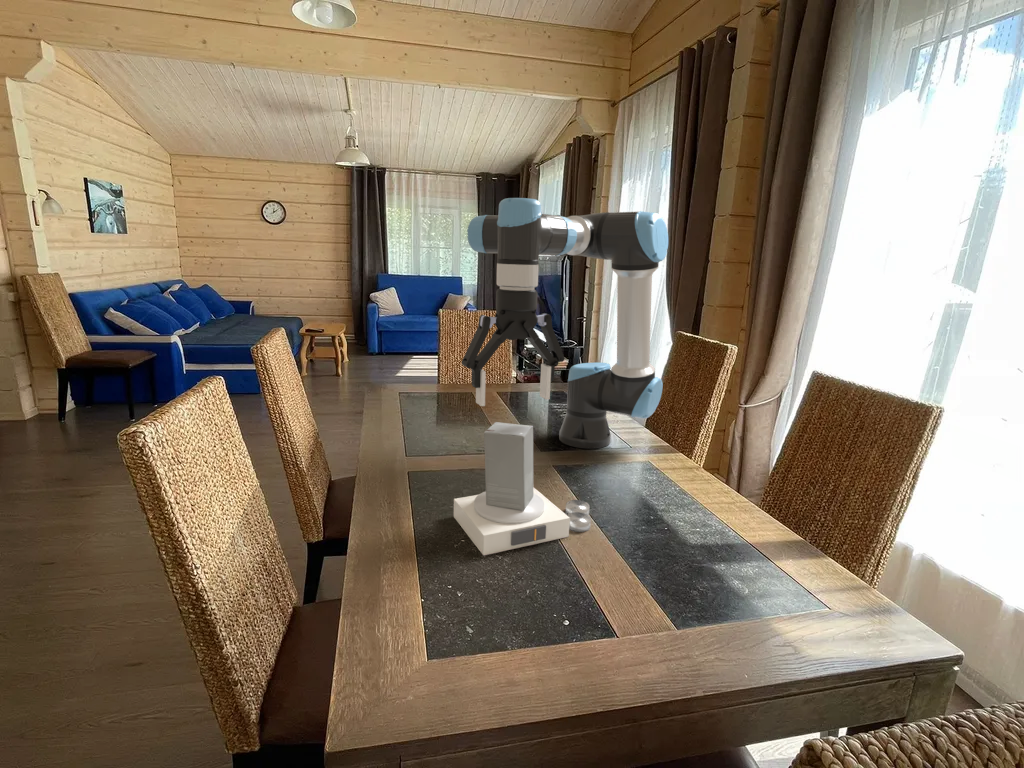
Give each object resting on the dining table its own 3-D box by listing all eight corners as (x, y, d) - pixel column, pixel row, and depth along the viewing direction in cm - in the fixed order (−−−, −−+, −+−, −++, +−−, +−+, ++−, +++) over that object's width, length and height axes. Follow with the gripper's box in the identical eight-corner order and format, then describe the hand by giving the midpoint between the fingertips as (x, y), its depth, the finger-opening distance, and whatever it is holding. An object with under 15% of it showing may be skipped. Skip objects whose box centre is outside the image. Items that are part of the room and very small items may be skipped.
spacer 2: (581, 519, 114) (582, 510, 113) (595, 530, 110) (595, 521, 109) (560, 523, 112) (561, 514, 111) (574, 535, 107) (574, 525, 107)
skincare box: (533, 499, 111) (537, 424, 107) (522, 514, 104) (526, 435, 100) (494, 491, 113) (496, 419, 110) (481, 506, 107) (483, 429, 103)
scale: (530, 502, 120) (531, 481, 119) (570, 538, 106) (571, 514, 105) (453, 516, 113) (453, 494, 111) (484, 557, 98) (485, 532, 97)
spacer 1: (580, 506, 120) (581, 498, 119) (593, 516, 115) (594, 508, 115) (561, 510, 117) (561, 502, 117) (573, 521, 113) (574, 512, 113)
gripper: (565, 286, 107) (559, 390, 112) (444, 286, 97) (444, 401, 102) (586, 289, 101) (579, 400, 106) (459, 290, 90) (458, 412, 95)
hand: (513, 401), depth 104 cm, fingers open, 13 cm apart
